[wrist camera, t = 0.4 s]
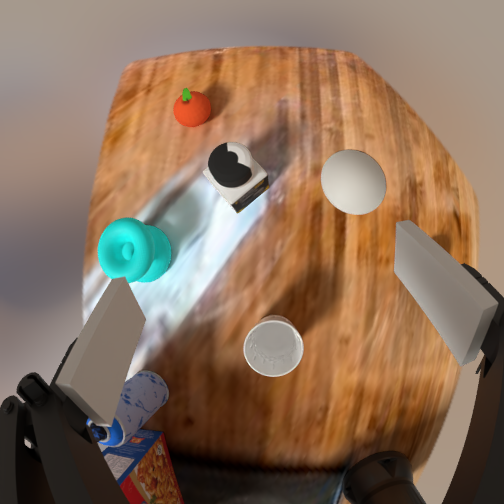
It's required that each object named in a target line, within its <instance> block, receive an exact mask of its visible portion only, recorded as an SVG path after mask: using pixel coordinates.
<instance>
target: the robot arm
mask: <svg viewBox="0 0 504 504" xmlns="http://www.w3.org/2000/svg"><path fill="white" fill-rule="evenodd" d="M394 272H395V274H396V275H397V276H398V277H399V279H400V280H401V281H402V283H403V284H404V285H405V287H406V288H407V289H408V290H409V292H410V293H411V294H412V296H413V297H414V299H415V300H416V301H417V303H418V304H419V305H420V307H421V308H422V310H423V311H424V312H425V314H426V315H427V317H428V318H429V319H430V321H431V322H432V324H433V325H434V327H435V328H436V330H437V331H438V332H439V334H440V335H441V337H442V338H443V340H444V341H445V343H446V344H447V346H448V348H449V349H450V351H451V352H452V354H453V355H454V357H455V359H456V360H457V362H458V363H459V365H460V367H461V366H463V365H465V364H467V363H469V362H471V361H473V360H475V359H476V357H477V355H478V353H479V350H480V349H481V350H482V351H483V353H484V354H485V355H484V357H483V359H482V361H481V363H480V365H479V367H478V368H477V371H476V374H478V372H479V371H480V369H481V372H480V378H479V384H478V390H477V395H476V401H475V405H474V410H473V414H472V418H471V423H470V426H469V430H468V434H467V437H466V441H465V444H464V447H463V450H462V454H461V457H460V460H459V462H458V465H457V468H456V471H455V474H454V476H453V479H452V481H451V484H450V486H449V489H448V491H447V493H446V496H445V498H444V500H443V502H442V504H504V298H503V296H502V295H501V294H500V293H499V292H498V291H497V290H496V289H495V288H494V287H493V286H492V285H491V284H490V283H488V281H487V280H486V279H485V278H484V277H482V275H481V274H480V273H479V272H478V271H477V270H475V269H474V268H472V267H471V266H469V265H467V264H465V263H464V264H459V263H458V262H457V261H456V260H455V259H454V258H453V257H452V256H451V255H450V254H449V253H448V252H446V251H445V250H444V249H443V248H442V247H441V246H440V245H439V244H437V243H436V242H435V241H434V240H433V239H432V238H431V237H429V236H428V235H427V234H426V233H425V232H424V231H422V230H421V229H420V228H419V227H418V226H416V225H415V224H414V223H413V222H411V221H410V220H406V221H401V222H396V246H395V265H394ZM145 321H146V318H145V316H144V314H143V312H142V310H141V308H140V306H139V304H138V302H137V300H136V298H135V296H134V294H133V292H132V290H131V288H130V286H129V284H128V282H127V280H126V278H125V276H124V277H119V278H114V279H112V280H111V282H110V284H109V285H108V287H107V288H106V290H105V292H104V293H103V295H102V297H101V298H100V300H99V302H98V303H97V305H96V307H95V308H94V310H93V312H92V314H91V315H90V317H89V319H88V321H87V322H86V324H85V326H84V328H83V330H82V331H81V333H80V335H79V337H78V338H76V339H75V341H74V342H73V343H72V344H71V345H70V346H69V348H68V350H67V352H66V354H65V356H64V358H63V360H62V363H61V364H60V365H59V367H58V369H57V372H56V374H55V375H54V377H53V380H52V382H51V384H50V386H48V385H47V383H46V382H45V381H44V380H43V379H42V378H41V376H40V375H39V374H37V373H35V372H34V373H30V374H27V375H26V376H25V377H23V378H22V380H21V381H20V382H19V384H18V386H17V394H18V395H19V396H20V397H21V398H22V399H23V400H24V401H25V403H22V402H21V401H20V400H19V399H18V398H17V397H15V396H14V395H13V396H9V397H8V398H6V399H5V400H4V401H3V403H2V405H1V407H0V504H130V502H129V501H128V499H127V498H126V496H125V494H124V493H123V491H122V489H121V488H120V486H119V484H118V482H117V481H116V479H115V477H114V475H113V473H112V471H111V470H110V468H109V466H108V464H107V462H106V460H105V458H104V456H103V454H102V452H101V450H100V448H99V446H98V443H97V441H96V439H95V437H94V435H93V432H92V430H91V428H90V427H89V425H87V424H86V423H87V420H88V418H89V419H90V420H92V421H93V422H94V423H95V424H96V425H99V426H108V427H112V423H113V419H114V416H115V412H116V409H117V406H118V402H119V399H120V395H121V392H122V389H123V386H124V383H125V379H126V376H127V373H128V370H129V367H130V364H131V361H132V358H133V355H134V352H135V349H136V346H137V343H138V341H139V338H140V335H141V332H142V329H143V327H144V324H145ZM24 439H26V440H28V441H29V442H30V443H31V448H29V447H27V446H26V445H25V442H24V441H25V440H24ZM342 489H343V493H344V496H345V498H346V499H347V500H348V501H349V502H350V503H351V504H426V503H425V501H424V499H423V498H422V496H421V495H420V493H419V492H418V490H417V489H416V487H415V485H414V484H413V474H412V466H411V463H410V461H409V460H408V458H407V457H406V456H405V455H404V454H402V453H400V452H396V451H385V452H380V453H377V454H374V455H371V456H369V457H367V458H365V459H363V460H362V461H360V462H359V463H357V464H356V465H355V466H353V467H352V468H351V469H350V470H349V472H348V473H347V474H346V476H345V478H344V480H343V483H342Z"/></svg>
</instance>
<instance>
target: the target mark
mask: <svg viewBox="0 0 504 504" xmlns="http://www.w3.org/2000/svg"><path fill="white" fill-rule="evenodd" d="M321 184H322V188H323V191H324V193H325V195H326V197H327V198H328V200H329V201H330V202H331V203H332V204H333V205H334V206H335V207H336V208H338V209H339V210H341V211H343V212H346V213H349V214H354V215H361V214H366V213H369V212H371V211H373V210H374V209H376V208H377V207H378V206H379V205H380V203H381V202H382V200H383V198H384V196H385V192H386V180H385V176H384V173H383V171H382V169H381V167H380V166H379V165H378V163H377V162H376V161H375V160H374V159H373V158H371V157H370V156H369V155H367V154H365V153H363V152H360V151H357V150H343V151H339V152H337V153H335V154H333V155H332V156H331V157H330V158H329V159H328V160H327V161H326V163H325V164H324V166H323V169H322V173H321Z"/></svg>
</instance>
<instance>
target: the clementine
mask: <svg viewBox="0 0 504 504" xmlns="http://www.w3.org/2000/svg"><path fill="white" fill-rule="evenodd" d="M210 112H211V104H210V101H209V100H208V98H207V97H206V96H205V95H204V94H202V93H200V92H195V91H193V92H189V90H188V89H187V88H185V89H184V90H183V94H182V95H181V96H180V97H179V98H178V99H177V100H176V102H175V104H174V115H175V118H176V120H177V121H178V122H179V123H180V124H182V125H184V126H187V127H196V126H199V125H201V124H203V123H204V122H205V121H206V120H207V119H208V117H209V115H210Z"/></svg>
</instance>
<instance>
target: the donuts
mask: <svg viewBox="0 0 504 504" xmlns="http://www.w3.org/2000/svg"><path fill="white" fill-rule="evenodd" d="M98 258H99V262H100V265H101V267H102V269H103V271H104V272H105V274H106V275H107V276H108V277H110V278H111V279H114V278H119V277H124V276H125V278H126V280H127V282H128V283H131V282H135V281H138V282H152V281H154V280H156V279H158V278H160V277H161V276H162V275H163V274H164V273H165V271H166V270H167V268H168V266H169V264H170V261H171V246H170V242H169V240H168V238H167V236H166V235H165V234H164V233H163V232H162V231H161V230H160V229H158V228H157V227H154V226H151V225H145V224H143V223H142V222H141V221H139V220H137V219H134V218H121V219H118V220H115V221H114V222H112V223H111V224H110V225H109V226H108V227H107V228H106V229H105V230H104V232H103V233H102V235H101V238H100V241H99V245H98Z"/></svg>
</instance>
